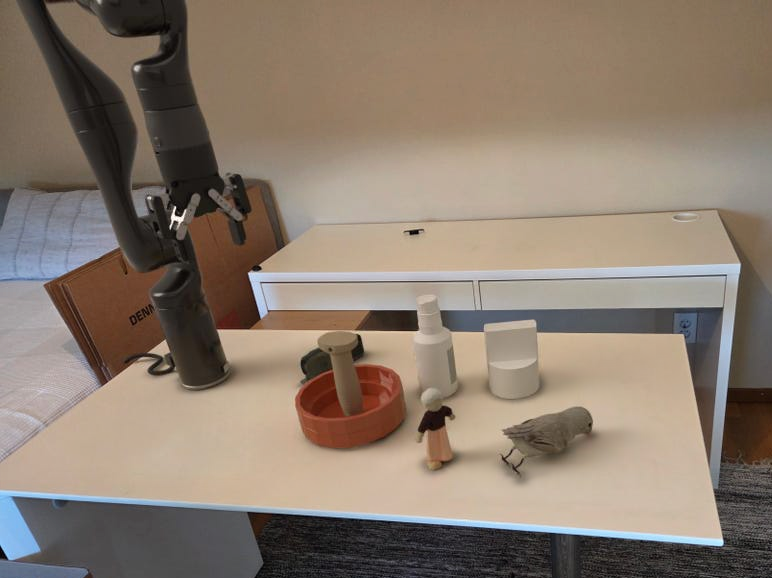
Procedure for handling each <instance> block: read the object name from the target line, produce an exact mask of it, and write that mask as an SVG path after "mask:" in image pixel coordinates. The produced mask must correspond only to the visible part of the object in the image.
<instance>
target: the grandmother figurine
mask: <svg viewBox="0 0 772 578" xmlns="http://www.w3.org/2000/svg"><path fill="white" fill-rule="evenodd" d="M443 397H444V395H443V393H442V391H440V390H439V389H436V388H429V389H427V390H426V391H425V392H423V393H422V392H421V396H420V402H421V404H422V405H423V407H425V409H426V411H425V412H424V414H423V416H422V418H421V421H420V423H419V425H418V427H417V432H416V437H415V440H414V441H415V443H417V444H421V443H422V442H423V438H424V437H425V433H426V444H425V447H426V458H427V460H426V465H427V467H428V468H429V469H430V470H432V471H437V470H439V469H441V468H442V466H443V463H442V462H445V463H446V462H450V461H451V460H453V459H454V455H453V451H452V446H451V443H450V439H449V435H448V431H447V423H446V418H448V420H449V421H455V420H456V418H457V417H456V414H455V413H454V412H453V409H452V408H451V407H449V406H448V405H444V404H443V399H444V398H443Z"/></svg>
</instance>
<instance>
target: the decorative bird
mask: <svg viewBox="0 0 772 578" xmlns="http://www.w3.org/2000/svg"><path fill="white" fill-rule="evenodd" d="M593 426H594V419H593V416H592V413H591V412H590V411H589V410H588V409H587V408H585V407H583V406H570V407H569V408H566V409H564V410H562V411H559V412H553V413H547V414H543V415H539V416H536V417H535V418H529V419H526V420H525V421H523V422H521V423H519V424H513V425H512V426H510V427H506V428H501V431H502V432H503V434H502V435H503V436H506V439H508V440H510V441H511V443H512V444H513V446H511V449H510V451H509V453H508V454H507V455H505V456H504V455H503V454H502V453H499V455H500V456H501V458H500V459H501V461H503V462H504V463H505V464H506V466H508V467H509V468H511V469H512V471H514V472H515V473H516V475H517V476H519V477H520V478H522V475H521V473H520V471H519V470H518V468H519V467H520V466H522V464H523V463H524V461H525V460H526V459H528V458H531V459H532V458H536V457H541V456H546V455H549V454H557V453H561V452H562V451H563V450H564V449H565V448H566V447H567V446H568V445H569V444H570V443H571V442H572V441H573V440H574V439H575V438H576V436H578V435H581V434H585V435H590V434H591V433H592V430H593ZM516 449H517V451H518V452H519V453H520V454H522V455H523V456H522V458H521V460H520V462H519V463H518V464H517V465H514V463H511V462H509V461H508V460H507V459H508V458H509V457H510V456H511V455H512V454H513V452H514V450H516ZM510 465H511V466H510Z"/></svg>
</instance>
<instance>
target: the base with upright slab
mask: <svg viewBox="0 0 772 578" xmlns="http://www.w3.org/2000/svg"><path fill="white" fill-rule="evenodd" d="M537 326H538V325H537V321H536V319H526V320H525V319H524V320H515V321H503V322H502V321H501V322H492V323H491V322H490V323H484V326H483V333H484V334H483V335H484V345H485V355H486V364H487V365H486V366H487V375H488V387H489V391H490V392H491V393H492V395H494V396H496V397H498V398H501V399H505V400H506V399H507V400H518V399H524V398H528V397H530V396H532V395H534V394H535V393H536V392H537V391H538V390H539V388H540V367H539V366H540V365H539V364H540V363H539V347H538V328H537Z"/></svg>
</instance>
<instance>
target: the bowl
mask: <svg viewBox="0 0 772 578" xmlns="http://www.w3.org/2000/svg"><path fill="white" fill-rule="evenodd" d="M354 366H355V369H356V373H357V376H358V379H359V383H360V387H361V392H362V400H363V407H362V408H363V409H364V413H363V414H359V415H355V416H350V417H345V416H344V413H343V409H342V407H341V405H340V402H339V399H338V395H337V391H336V385H335V379H334V373H333V370H330V371H327V372H325V373H322V374H320V375H319V376H317V377H315V378H313V379H311V380H309V381H307V382H305V383H304V385H303V386H302V387H300V389H299V390H298V392H297V394H296V395H295V398H294V404H295V410H296V413H297V417H298V421H299V425H300V428H301V432H302V433H303V435H304V437H306V439H307V440H308V441H309V442H311V443H313V444H315V445H316V446H317V445H318V446H319V447H320V446H321V447H326V448H333V449H340V448H341V449H343V448H353V447H358V446H362V445H366V444H370V443H372V442H374V441H376V440H379V439H381V438H384V437H386V436H387V435H389V434H390V433H392V432H393V431H394V430H396V429H397V428H398V427H399V425H400V424H401V423H402V422H403V420H404V419H405V416H406V412H407V405H406V397H405V393H404V387H403V383H402V379H401V376H400V375H399V374H398V373H397V372H396V371H394V369H392V368H389V367H387V366H383V365H378V364H370V363H365V364H364V363H362V364H361V363H360V364H354Z"/></svg>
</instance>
